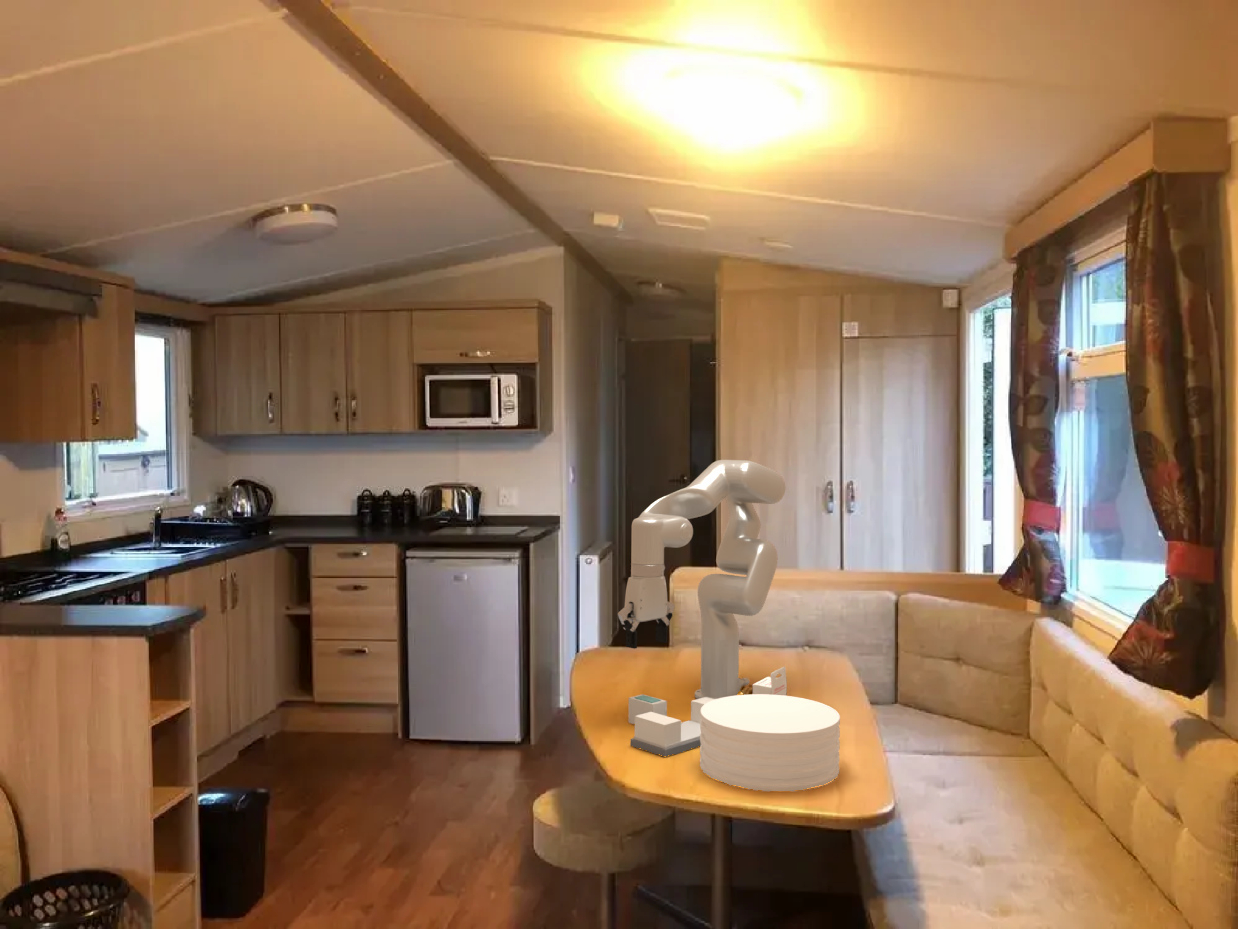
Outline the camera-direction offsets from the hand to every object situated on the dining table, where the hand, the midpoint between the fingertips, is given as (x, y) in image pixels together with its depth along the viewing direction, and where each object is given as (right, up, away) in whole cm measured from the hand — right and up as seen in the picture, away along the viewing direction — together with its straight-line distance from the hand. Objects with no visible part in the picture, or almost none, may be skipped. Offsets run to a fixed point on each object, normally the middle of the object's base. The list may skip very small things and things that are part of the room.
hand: (646, 644), depth 236 cm
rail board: (+8, -19, -11) cm, 24 cm away
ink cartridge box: (+28, -19, -5) cm, 34 cm away
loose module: (0, -19, +1) cm, 19 cm away
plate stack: (+24, -20, -28) cm, 42 cm away
